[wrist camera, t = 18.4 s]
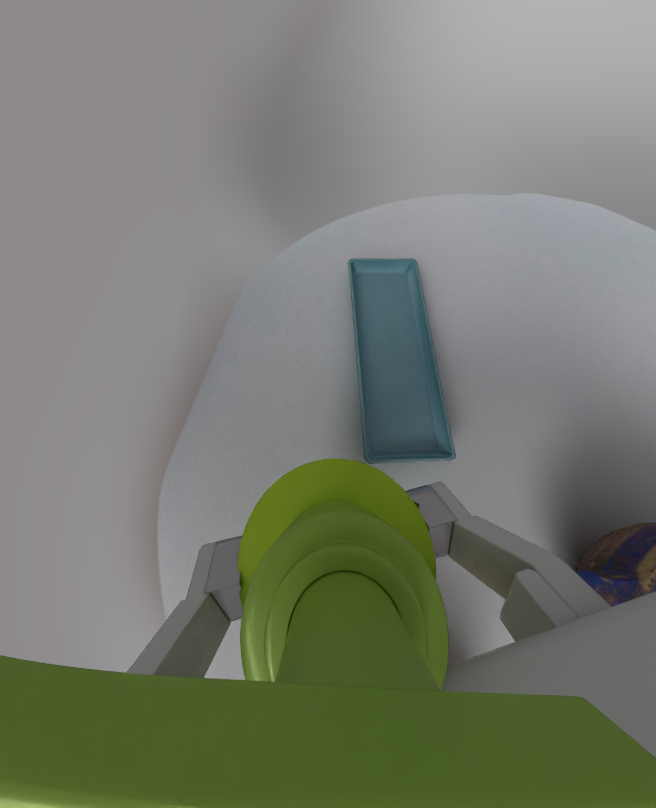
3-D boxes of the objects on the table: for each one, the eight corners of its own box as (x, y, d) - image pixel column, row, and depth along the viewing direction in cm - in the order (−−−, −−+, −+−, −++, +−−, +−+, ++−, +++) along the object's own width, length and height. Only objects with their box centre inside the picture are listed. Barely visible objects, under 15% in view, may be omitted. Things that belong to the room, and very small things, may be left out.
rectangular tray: (345, 270, 34) (348, 254, 32) (410, 271, 34) (417, 255, 32) (360, 465, 26) (364, 463, 24) (444, 462, 26) (457, 460, 24)
